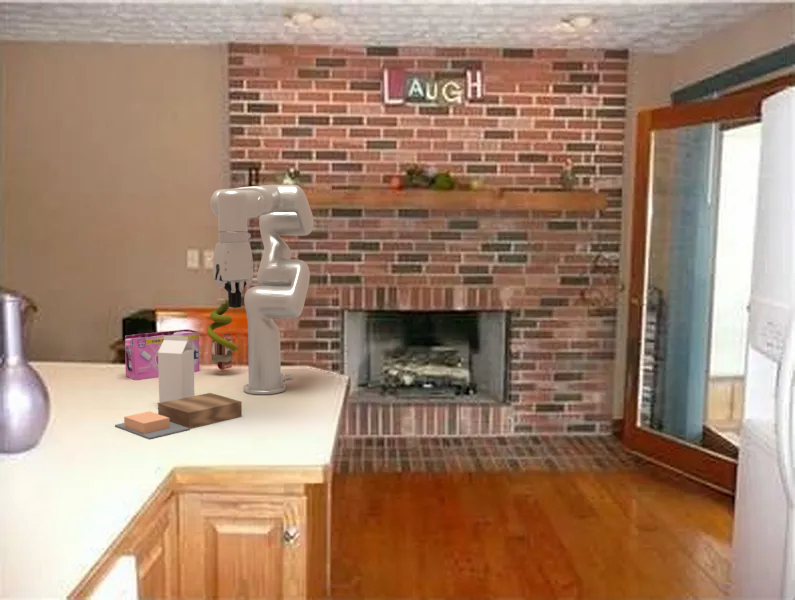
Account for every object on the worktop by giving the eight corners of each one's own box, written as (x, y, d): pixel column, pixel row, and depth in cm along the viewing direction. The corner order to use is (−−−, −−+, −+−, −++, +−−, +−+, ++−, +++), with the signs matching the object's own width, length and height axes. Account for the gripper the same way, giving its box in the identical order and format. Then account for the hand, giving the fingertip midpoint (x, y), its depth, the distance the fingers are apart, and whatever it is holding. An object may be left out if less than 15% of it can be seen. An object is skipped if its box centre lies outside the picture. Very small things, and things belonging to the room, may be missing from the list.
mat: (154, 417, 199) (154, 416, 199) (189, 429, 189) (189, 428, 189) (115, 426, 191) (114, 424, 191) (149, 439, 181) (149, 437, 181)
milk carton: (182, 407, 210) (181, 339, 208) (159, 405, 212) (157, 337, 210) (194, 401, 217) (193, 335, 215) (171, 399, 219) (170, 334, 217)
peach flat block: (124, 416, 189) (124, 426, 190) (143, 423, 184) (144, 433, 184) (149, 411, 195) (149, 421, 195) (169, 417, 189) (169, 427, 189)
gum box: (131, 381, 242) (129, 338, 241) (121, 377, 248) (119, 335, 247) (200, 371, 258) (199, 331, 257) (189, 367, 264) (188, 328, 262)
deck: (210, 407, 211) (210, 392, 211) (241, 416, 202) (241, 401, 201) (158, 418, 199) (158, 403, 199) (189, 428, 190) (188, 412, 189)
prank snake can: (237, 376, 250) (236, 300, 247) (205, 377, 249) (204, 300, 246) (240, 369, 261) (239, 296, 258) (210, 370, 260) (209, 296, 257)
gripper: (248, 236, 209) (249, 302, 212) (200, 238, 198) (202, 308, 201) (265, 237, 204) (266, 305, 207) (217, 239, 193) (219, 311, 196)
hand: (234, 306), depth 204 cm, fingers closed
